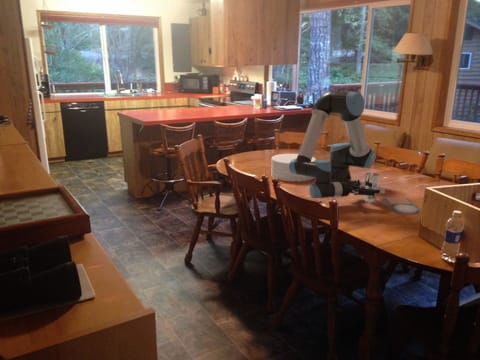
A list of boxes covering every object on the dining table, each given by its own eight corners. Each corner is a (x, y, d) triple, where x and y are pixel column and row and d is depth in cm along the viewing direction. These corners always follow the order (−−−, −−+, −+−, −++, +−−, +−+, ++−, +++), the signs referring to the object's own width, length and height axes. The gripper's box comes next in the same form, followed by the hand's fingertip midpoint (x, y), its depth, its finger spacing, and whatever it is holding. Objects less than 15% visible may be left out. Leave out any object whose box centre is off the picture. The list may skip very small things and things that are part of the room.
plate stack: (314, 182, 252) (315, 164, 249) (268, 180, 257) (268, 162, 254) (315, 171, 278) (316, 154, 275) (273, 169, 284) (274, 152, 281)
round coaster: (398, 213, 200) (398, 211, 200) (390, 205, 211) (391, 204, 211) (421, 213, 200) (421, 212, 200) (412, 206, 210) (413, 204, 210)
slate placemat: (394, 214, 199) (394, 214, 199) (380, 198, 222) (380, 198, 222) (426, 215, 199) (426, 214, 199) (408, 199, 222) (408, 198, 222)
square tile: (391, 205, 212) (391, 203, 212) (385, 198, 221) (385, 197, 221) (411, 205, 211) (411, 203, 211) (404, 199, 221) (404, 197, 221)
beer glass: (374, 199, 221) (377, 172, 217) (379, 203, 215) (382, 175, 211) (361, 199, 221) (364, 172, 217) (365, 204, 214) (368, 176, 210)
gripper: (329, 189, 224) (365, 186, 229) (350, 204, 201) (390, 201, 206) (329, 176, 222) (366, 173, 227) (351, 189, 199) (391, 186, 204)
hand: (377, 186), depth 216 cm, fingers open, 12 cm apart
